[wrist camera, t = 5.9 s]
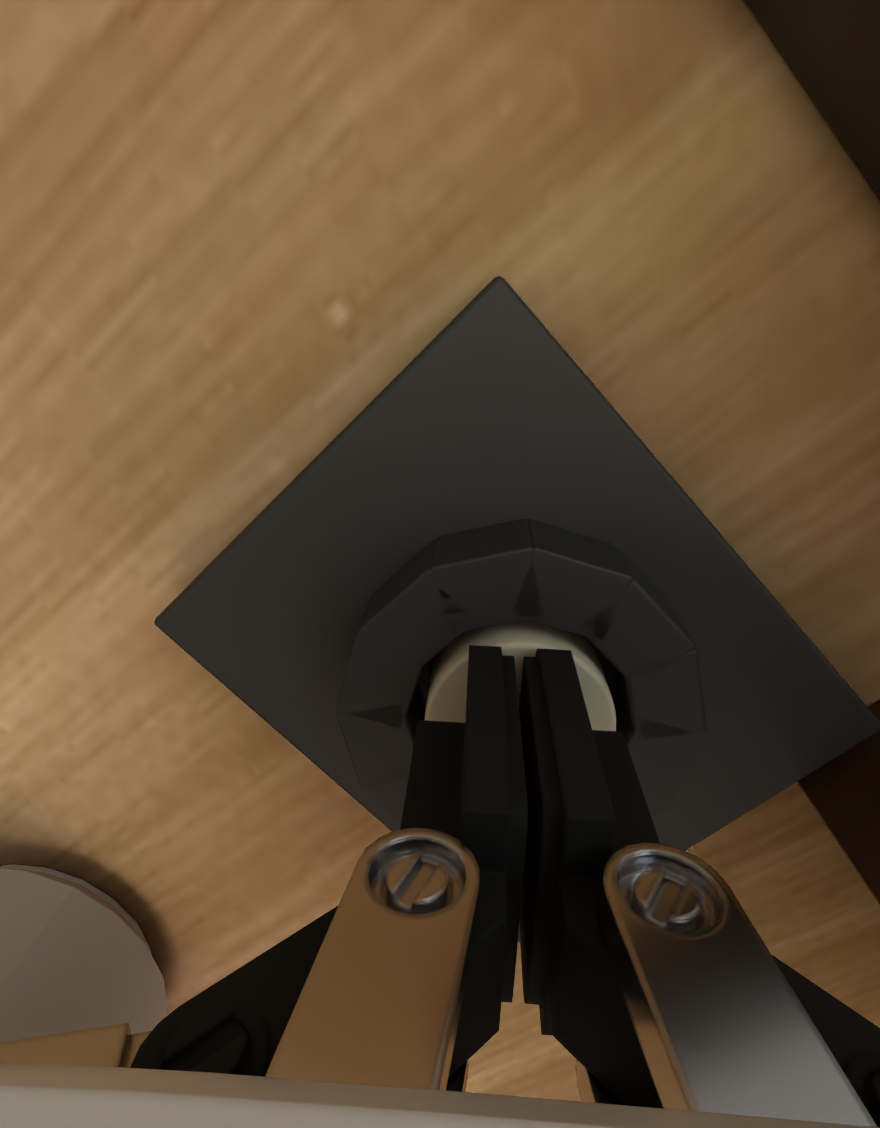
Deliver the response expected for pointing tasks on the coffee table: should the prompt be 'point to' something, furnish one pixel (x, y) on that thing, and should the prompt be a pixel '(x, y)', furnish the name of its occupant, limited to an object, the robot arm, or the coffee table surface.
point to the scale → (835, 66)
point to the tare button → (516, 669)
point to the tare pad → (512, 585)
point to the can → (71, 958)
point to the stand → (852, 804)
